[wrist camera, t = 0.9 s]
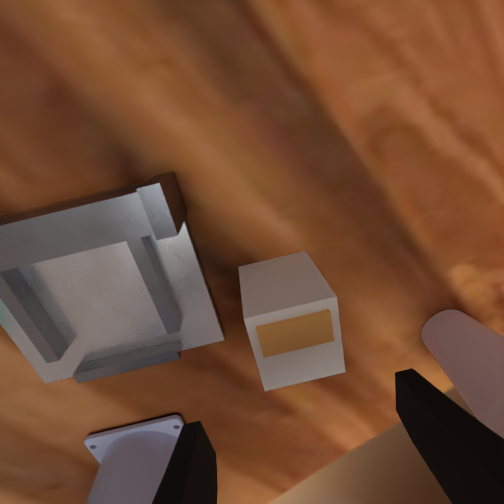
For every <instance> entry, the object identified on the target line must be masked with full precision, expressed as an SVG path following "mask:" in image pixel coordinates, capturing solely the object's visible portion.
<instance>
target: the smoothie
mask: <svg viewBox="0 0 504 504" xmlns="http://www.w3.org/2000/svg"><path fill="white" fill-rule="evenodd" d="M421 339H422V341H423V343H424V344H425V345H426V347H427V348H428V350H429V351H430V352H431V354H432V355H433V357H434V358H435V359H436V361H437V362H438V364H439V365H440V366H441V368H442V369H443V371H444V372H445V373H446V375H447V376H448V378H449V379H450V380H451V382H452V383H453V385H454V386H455V387H456V389H457V390H458V392H459V393H460V394H461V396H462V397H463V399H464V400H465V401H466V403H467V404H468V405H469V407H470V408H471V410H472V411H473V413H474V414H475V415H476V417H477V418H478V419H479V421H480V422H481V423H483V424H484V425H485V426H487V427H488V428H490V429H491V430H492V431H494V432H495V433H496V434H498V435H499V436H501V437H502V438H503V439H504V336H502V335H500V334H498V333H497V332H495V331H493V330H492V329H490V328H488V327H486V326H485V325H483V324H481V323H480V322H478V321H476V320H475V319H473V318H471V317H469V316H468V315H466V314H464V313H463V312H461V311H459V310H454V309H450V310H444V311H441V312H439V313H437V314H435V315H434V316H432V317H431V318H430V319H429V320H428V321H427V322H426V323H425V324H424V326H423V328H422V331H421Z"/></svg>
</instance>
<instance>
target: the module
mask: <svg viewBox="0 0 504 504" xmlns="http://www.w3.org/2000/svg"><path fill="white" fill-rule="evenodd" d="M238 269H239V279H240V288H241V298H242V308H243V317H244V322H245V325H246V329H247V332H248V336H249V339H250V342H251V346H252V349H253V353H254V356H255V360H256V363H257V366H258V370H259V373H260V377H261V380H262V384H263V387H264V390H265V391H268V390H273V389H277V388H281V387H285V386H289V385H293V384H298V383H302V382H306V381H310V380H314V379H318V378H323V377H327V376H331V375H335V374H339V373H343V372H345V364H344V356H343V347H342V338H341V329H340V320H339V312H338V303H337V296H336V295H335V293H334V292H333V290H332V289H331V287H330V286H329V284H328V283H327V281H326V280H325V278H324V277H323V275H322V274H321V272H320V271H319V269H318V268H317V266H316V265H315V263H314V262H313V261H312V259H311V258H310V256H309V255H308V253H307V252H306V251H302V252H298V253H294V254H290V255H286V256H282V257H277V258H273V259H269V260H265V261H261V262H257V263H253V264H248V265H244V266H240V267H238Z"/></svg>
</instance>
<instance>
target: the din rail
mask: <svg viewBox="0 0 504 504" xmlns="http://www.w3.org/2000/svg"><path fill="white" fill-rule="evenodd" d="M186 216H187V213H186V210H185V206H184V203H183V200H182V197H181V194H180V191H179V188H178V185H177V182H176V179H175V176H174V173H173V172H170V173H166V174H162V175H158V176H154V177H153V178H151V179H150V180H148V181H145V182H141V183H137V184H133V185H129V186H125V187H121V188H116V189H112V190H108V191H104V192H100V193H96V194H92V195H88V196H84V197H80V198H76V199H71V200H67V201H63V202H59V203H55V204H51V205H47V206H43V207H39V208H35V209H31V210H27V211H22V212H18V213H14V214H10V215H6V216H2V217H0V324H1V325H2V327H3V328H4V329H5V331H6V332H7V333H8V335H9V336H10V337H11V339H12V340H13V341H14V343H15V344H16V345H17V347H18V348H19V349H20V351H21V352H22V353H23V355H24V356H25V357H26V359H27V360H28V361H29V363H30V364H31V365H32V367H33V368H34V369H35V371H36V372H37V373H38V375H39V376H40V377H41V379H42V380H43V381H44V383H49V382H53V381H57V380H61V379H65V378H70V377H74V378H75V379H76V381H77V382H78V383H82V382H86V381H90V380H94V379H98V378H102V377H106V376H111V375H115V374H119V373H123V372H127V371H131V370H136V369H140V368H144V367H148V366H152V365H156V364H161V363H165V362H169V361H173V360H177V359H180V356H181V351H182V350H186V349H190V348H194V347H199V346H203V345H207V344H211V343H215V342H219V341H223V340H224V332H223V329H222V326H221V323H220V320H219V317H218V314H217V311H216V308H215V305H214V302H213V299H212V296H211V293H210V290H209V287H208V284H207V281H206V278H205V275H204V272H203V269H202V266H201V264H200V261H199V258H198V255H197V252H196V249H195V246H194V243H193V240H192V237H191V234H190V231H189V228H188V225H187V222H186V219H185V218H186Z"/></svg>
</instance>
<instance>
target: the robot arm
mask: <svg viewBox="0 0 504 504" xmlns="http://www.w3.org/2000/svg"><path fill="white" fill-rule="evenodd" d="M395 386H396V411H397V413H398V415H399V417H400V419H401V421H402V423H403V425H404V427H405V429H406V430H407V432H408V434H409V436H410V438H411V440H412V442H413V443H414V445H415V447H416V448H417V449H418V451H419V453H420V454H421V456H422V458H423V459H424V461H425V462H426V464H427V465H428V467H429V468H430V470H431V472H432V473H433V474H434V476H435V478H436V479H437V481H438V482H439V484H440V485H441V487H442V489H443V490H444V492H445V493H446V495H447V496H448V498H449V499H450V501H451V502H452V504H504V439H503V438H502V437H501V436H499V435H498V434H496V433H495V432H494V431H492V430H491V429H490V428H488V427H487V426H485V425H484V424H483V423H481V422H480V421H478V420H477V419H476V418H475V417H473V416H472V415H471V414H469V413H468V412H467V411H465V410H464V409H463V408H461V407H460V406H459V405H457V404H456V403H455V402H454V401H452V400H451V399H450V398H449V397H447V396H446V395H445V394H443V393H442V392H441V391H440V390H438V389H437V388H436V387H435V386H433V385H432V384H431V383H430V382H429V381H427V380H426V379H425V378H424V377H422V376H421V375H420V374H419V373H418V372H416V371H415V370H414V369H408V370H404V371H400V372H396V373H395ZM84 444H85V445H86V447H87V448H88V449H89V451H90V452H91V453H92V455H93V456H94V457H95V458H96V460H97V461H98V462H99V464H100V466H99V469H98V472H97V475H96V477H95V480H94V483H93V485H92V488H91V491H90V494H89V496H88V499H87V502H86V504H217V463H216V453H215V451H214V449H213V447H212V445H211V443H210V441H209V438H208V436H207V434H206V432H205V430H204V428H203V426H202V424H201V422H200V421H197V422H193V423H189V424H185V425H184V423H183V421H182V419H181V417H180V416H178V415H172V416H168V417H163V418H159V419H155V420H151V421H147V422H143V423H138V424H134V425H130V426H126V427H122V428H117V429H113V430H109V431H105V432H101V433H97V434H92V435H89V436H87V437H86V439H85V441H84Z"/></svg>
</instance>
